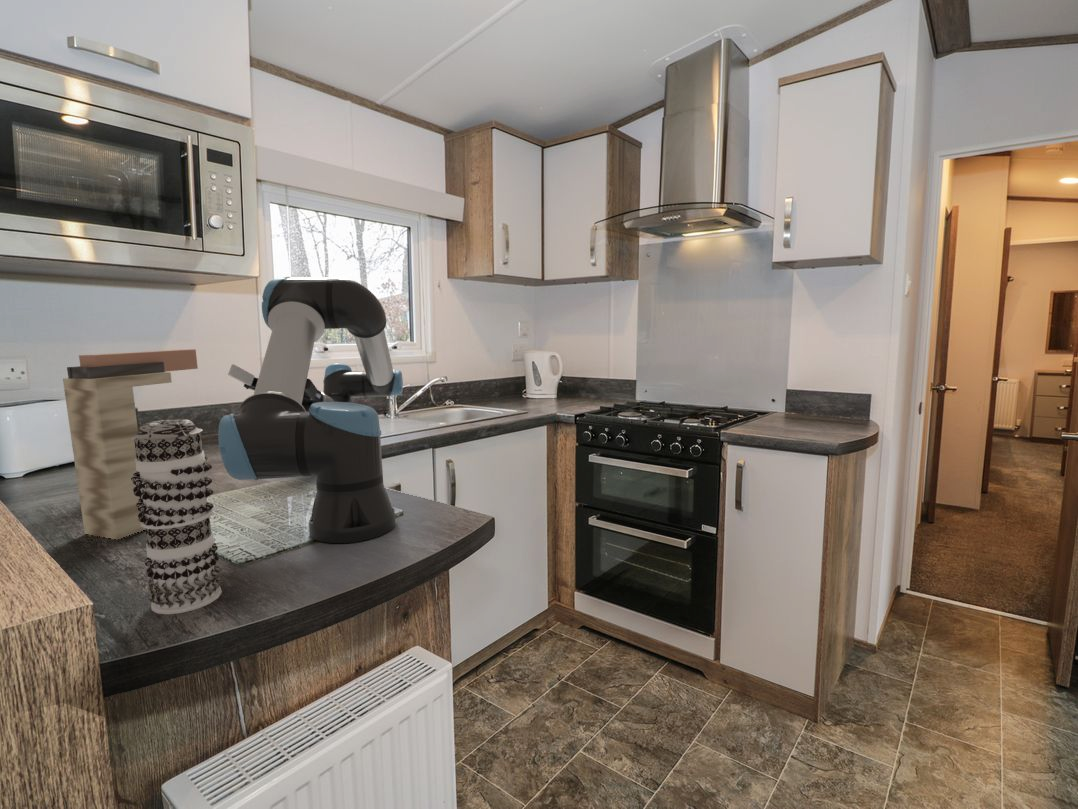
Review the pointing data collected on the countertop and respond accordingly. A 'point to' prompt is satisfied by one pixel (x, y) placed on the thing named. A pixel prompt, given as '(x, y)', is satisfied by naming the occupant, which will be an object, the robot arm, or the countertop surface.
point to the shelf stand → (107, 442)
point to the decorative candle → (176, 516)
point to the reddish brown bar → (144, 359)
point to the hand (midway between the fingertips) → (252, 369)
